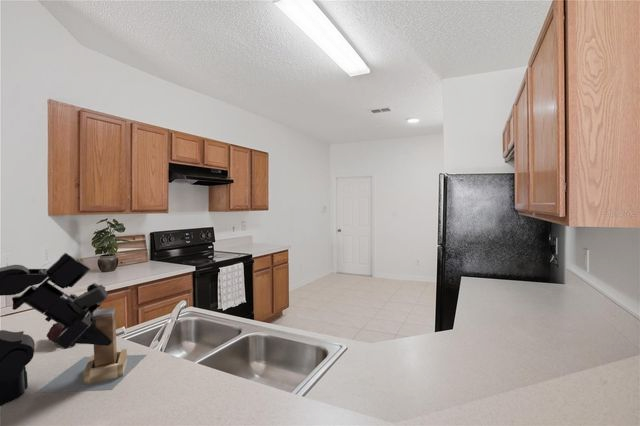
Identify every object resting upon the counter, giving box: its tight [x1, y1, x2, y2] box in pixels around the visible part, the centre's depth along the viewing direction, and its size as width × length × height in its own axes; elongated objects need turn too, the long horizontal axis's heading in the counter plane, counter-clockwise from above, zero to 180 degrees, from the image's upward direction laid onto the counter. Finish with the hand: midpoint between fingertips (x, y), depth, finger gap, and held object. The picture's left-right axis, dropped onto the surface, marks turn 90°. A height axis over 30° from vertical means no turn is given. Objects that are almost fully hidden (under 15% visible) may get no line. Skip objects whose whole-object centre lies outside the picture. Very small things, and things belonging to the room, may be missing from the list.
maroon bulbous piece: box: [46, 322, 76, 347], centre depth 98 cm, size 7×7×15 cm
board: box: [34, 354, 147, 394], centre depth 79 cm, size 16×17×1 cm
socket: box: [83, 348, 128, 385], centre depth 79 cm, size 8×9×3 cm
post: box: [93, 306, 118, 368], centre depth 79 cm, size 4×5×15 cm
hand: (111, 339), depth 79 cm, fingers closed on post, 5 cm apart
